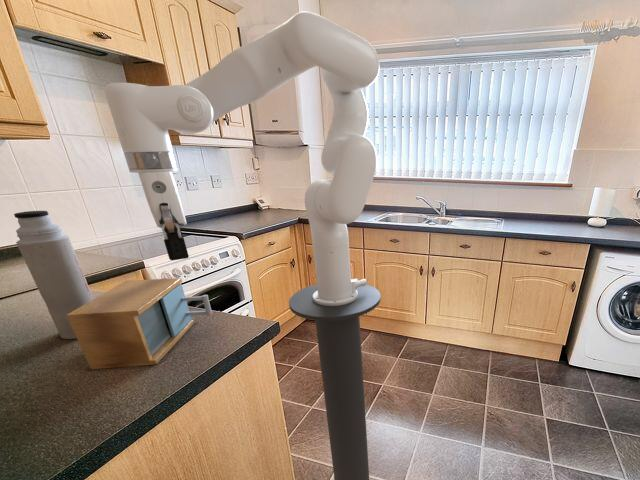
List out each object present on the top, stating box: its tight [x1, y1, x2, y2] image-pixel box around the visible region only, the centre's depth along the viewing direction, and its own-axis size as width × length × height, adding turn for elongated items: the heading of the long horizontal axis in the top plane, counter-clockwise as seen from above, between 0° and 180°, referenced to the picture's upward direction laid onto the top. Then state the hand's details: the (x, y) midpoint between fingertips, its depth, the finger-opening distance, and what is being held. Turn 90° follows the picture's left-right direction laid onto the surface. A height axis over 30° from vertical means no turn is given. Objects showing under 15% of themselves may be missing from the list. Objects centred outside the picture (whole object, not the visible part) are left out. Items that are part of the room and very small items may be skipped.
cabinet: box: [67, 277, 195, 370], centre depth 72 cm, size 12×18×12 cm, turn 8°
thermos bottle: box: [13, 210, 95, 340], centre depth 75 cm, size 8×8×28 cm
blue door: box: [160, 283, 213, 337], centre depth 77 cm, size 6×9×9 cm
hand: (178, 253), depth 69 cm, fingers open, 9 cm apart
